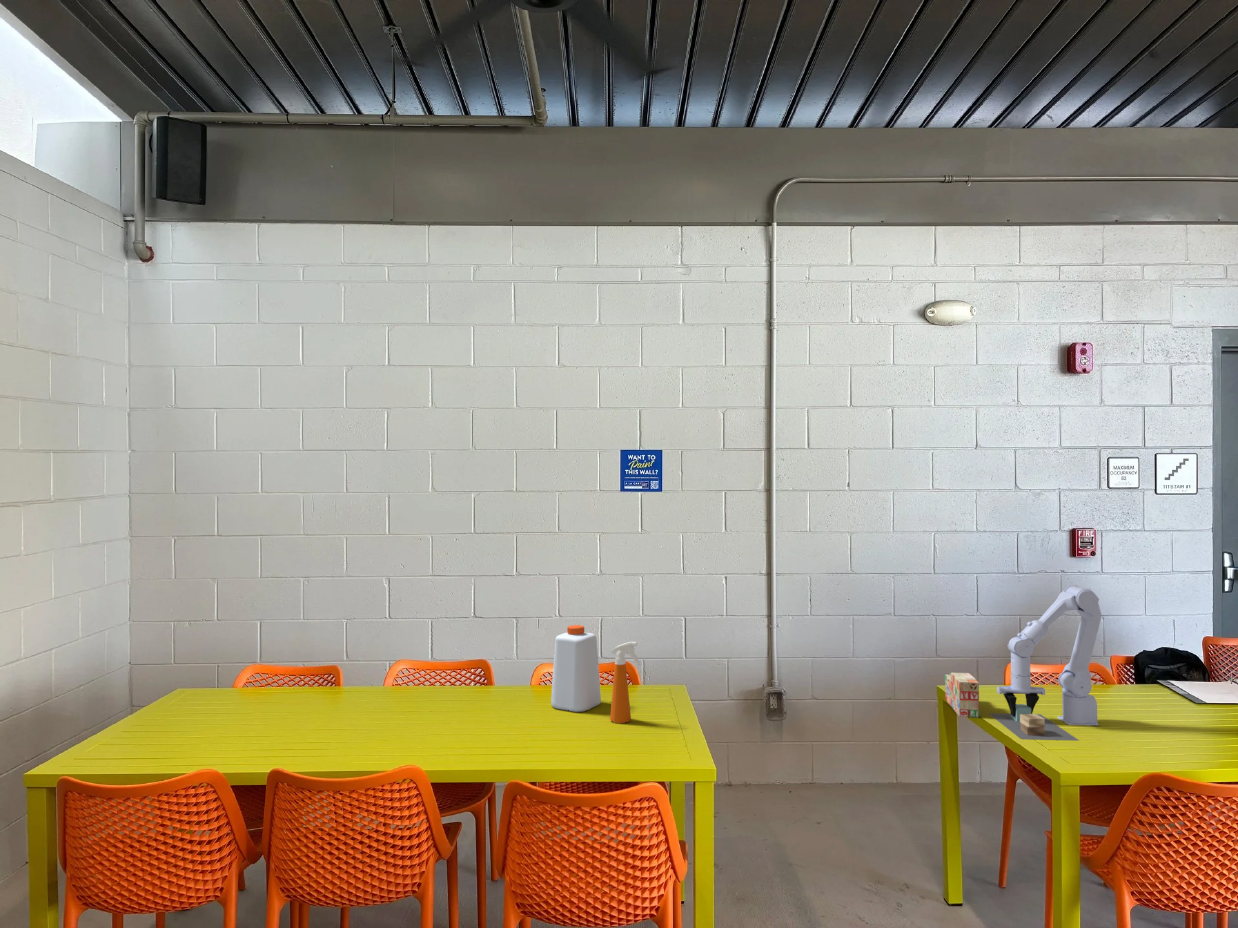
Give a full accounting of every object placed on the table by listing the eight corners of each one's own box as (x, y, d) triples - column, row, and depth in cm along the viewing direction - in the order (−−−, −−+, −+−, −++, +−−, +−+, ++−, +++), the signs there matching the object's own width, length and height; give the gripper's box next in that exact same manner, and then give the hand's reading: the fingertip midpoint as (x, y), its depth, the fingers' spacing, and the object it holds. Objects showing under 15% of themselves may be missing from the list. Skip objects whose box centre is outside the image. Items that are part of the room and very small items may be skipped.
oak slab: (1035, 721, 248) (1035, 713, 248) (1044, 726, 243) (1044, 718, 243) (1019, 722, 247) (1019, 714, 247) (1029, 727, 242) (1028, 719, 242)
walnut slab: (1037, 730, 247) (1036, 722, 247) (1044, 735, 242) (1044, 727, 242) (1020, 729, 248) (1020, 721, 248) (1027, 734, 243) (1027, 726, 243)
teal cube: (1025, 717, 260) (1025, 704, 260) (1031, 721, 255) (1031, 708, 255) (1011, 717, 260) (1011, 703, 260) (1017, 721, 256) (1016, 707, 256)
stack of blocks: (944, 699, 282) (944, 665, 283) (963, 700, 281) (962, 666, 281) (959, 718, 261) (959, 681, 261) (979, 719, 260) (979, 681, 260)
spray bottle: (640, 724, 255) (639, 644, 256) (607, 722, 258) (607, 642, 258) (643, 718, 262) (643, 639, 263) (612, 716, 265) (612, 638, 265)
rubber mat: (1040, 715, 263) (1040, 714, 263) (1079, 741, 237) (1079, 740, 237) (988, 714, 265) (988, 713, 265) (1021, 739, 239) (1021, 738, 239)
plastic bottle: (582, 714, 267) (582, 632, 268) (546, 707, 275) (546, 628, 275) (605, 702, 280) (605, 624, 281) (570, 697, 288) (569, 621, 288)
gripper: (1038, 671, 261) (1038, 712, 261) (993, 670, 263) (993, 711, 262) (1047, 677, 254) (1048, 719, 254) (1001, 676, 256) (1002, 718, 255)
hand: (1021, 715), depth 258 cm, fingers closed on teal cube, 4 cm apart
